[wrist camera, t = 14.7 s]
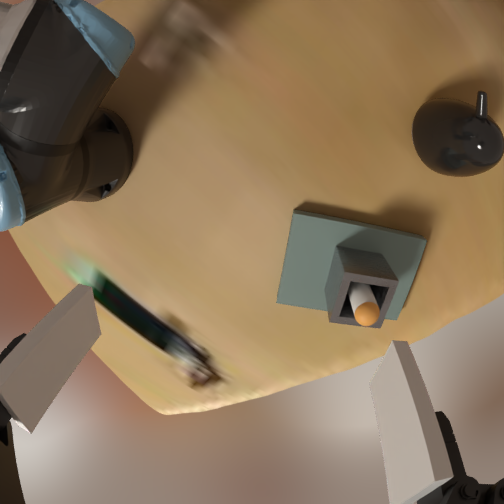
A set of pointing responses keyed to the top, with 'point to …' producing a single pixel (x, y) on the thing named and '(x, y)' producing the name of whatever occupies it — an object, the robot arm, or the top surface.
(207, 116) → the top surface
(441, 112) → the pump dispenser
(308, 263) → the keeper
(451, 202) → the top surface
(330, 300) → the grey square sleeve
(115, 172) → the robot arm
